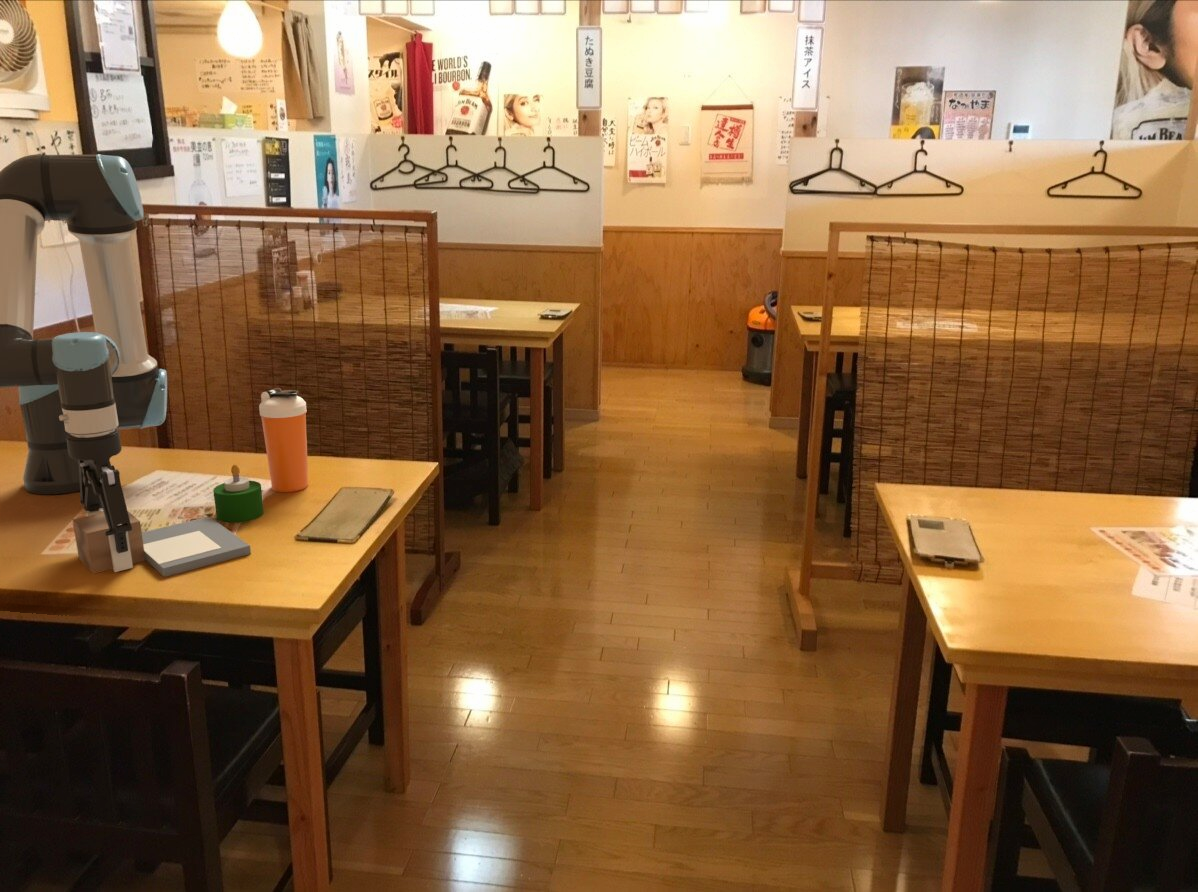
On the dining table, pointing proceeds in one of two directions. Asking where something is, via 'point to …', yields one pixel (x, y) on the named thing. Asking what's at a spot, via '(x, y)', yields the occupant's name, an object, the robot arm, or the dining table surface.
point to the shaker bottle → (285, 438)
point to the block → (103, 542)
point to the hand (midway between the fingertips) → (111, 558)
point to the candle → (238, 499)
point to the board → (191, 546)
